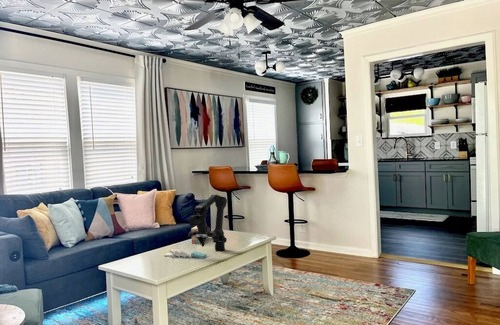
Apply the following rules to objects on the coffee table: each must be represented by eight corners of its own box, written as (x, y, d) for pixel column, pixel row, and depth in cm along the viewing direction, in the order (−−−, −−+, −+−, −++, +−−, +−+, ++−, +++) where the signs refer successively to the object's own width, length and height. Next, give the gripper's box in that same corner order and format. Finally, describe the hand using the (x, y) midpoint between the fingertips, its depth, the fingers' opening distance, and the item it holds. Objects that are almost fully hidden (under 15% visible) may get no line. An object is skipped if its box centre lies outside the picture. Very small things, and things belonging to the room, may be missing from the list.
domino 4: (195, 253, 268) (184, 248, 271) (191, 255, 263) (180, 250, 266) (194, 255, 268) (184, 250, 271) (190, 257, 264) (180, 252, 267)
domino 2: (184, 253, 271) (173, 248, 274) (180, 255, 267) (169, 250, 270) (183, 255, 272) (173, 250, 275) (179, 257, 267) (169, 252, 270)
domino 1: (178, 252, 273) (167, 252, 276) (174, 254, 268) (163, 254, 272) (178, 255, 273) (167, 255, 277) (174, 257, 268) (163, 257, 272)
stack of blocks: (200, 237, 329) (200, 223, 329) (207, 237, 327) (206, 223, 327) (191, 243, 308) (190, 228, 308) (199, 243, 307) (198, 228, 306)
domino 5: (206, 254, 265) (194, 251, 268) (202, 256, 260) (191, 253, 263) (205, 256, 265) (194, 253, 268) (202, 258, 260) (190, 255, 264)
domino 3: (189, 253, 270) (179, 248, 273) (185, 255, 265) (175, 250, 268) (189, 255, 270) (178, 250, 273) (185, 257, 265) (174, 252, 268)
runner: (211, 256, 266) (211, 255, 266) (204, 260, 257) (204, 259, 257) (179, 254, 276) (179, 254, 276) (171, 258, 267) (171, 258, 267)
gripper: (219, 221, 266) (220, 244, 266) (195, 221, 273) (197, 243, 274) (211, 225, 256) (213, 248, 256) (187, 224, 263) (188, 247, 263)
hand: (203, 246), depth 263 cm, fingers closed
